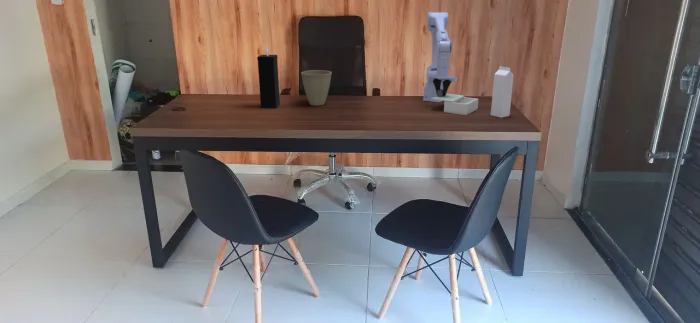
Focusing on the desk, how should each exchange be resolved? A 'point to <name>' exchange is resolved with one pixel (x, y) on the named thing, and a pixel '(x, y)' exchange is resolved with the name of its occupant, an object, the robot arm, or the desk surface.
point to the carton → (461, 106)
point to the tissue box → (268, 80)
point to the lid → (446, 96)
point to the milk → (502, 92)
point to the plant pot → (316, 85)
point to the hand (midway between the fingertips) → (441, 95)
